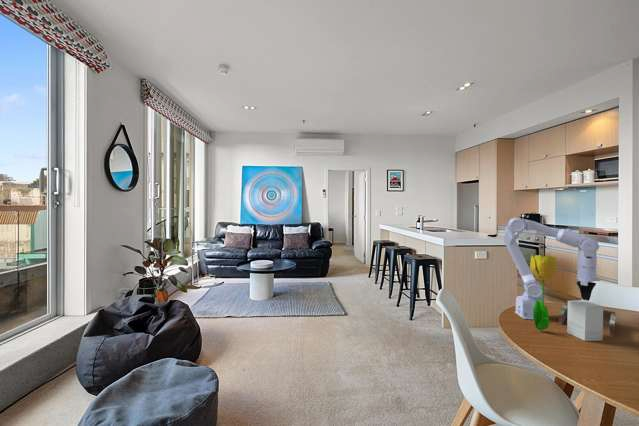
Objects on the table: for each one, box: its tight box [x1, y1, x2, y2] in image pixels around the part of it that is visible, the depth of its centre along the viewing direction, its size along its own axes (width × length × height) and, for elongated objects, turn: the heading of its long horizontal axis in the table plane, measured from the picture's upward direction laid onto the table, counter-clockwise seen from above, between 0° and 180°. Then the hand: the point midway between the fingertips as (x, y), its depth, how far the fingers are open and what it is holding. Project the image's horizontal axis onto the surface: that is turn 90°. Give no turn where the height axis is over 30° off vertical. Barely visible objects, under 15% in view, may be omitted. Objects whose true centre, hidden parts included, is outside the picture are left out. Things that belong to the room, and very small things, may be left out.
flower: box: [529, 254, 557, 332], centre depth 115 cm, size 9×8×30 cm
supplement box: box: [566, 299, 604, 342], centre depth 111 cm, size 7×7×13 cm
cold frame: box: [558, 302, 617, 337], centre depth 123 cm, size 17×16×5 cm
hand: (585, 299), depth 122 cm, fingers closed
